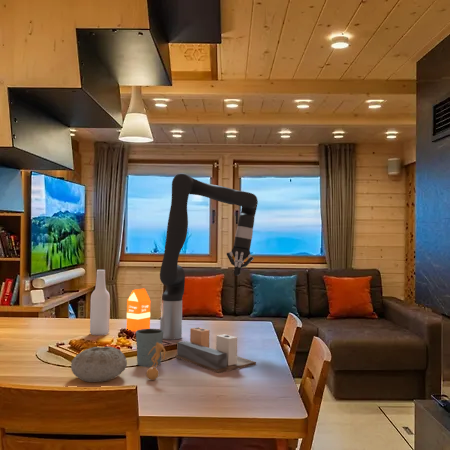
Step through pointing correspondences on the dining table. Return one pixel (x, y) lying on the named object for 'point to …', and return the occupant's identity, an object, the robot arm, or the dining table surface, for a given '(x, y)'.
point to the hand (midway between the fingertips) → (236, 275)
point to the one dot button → (227, 347)
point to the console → (208, 357)
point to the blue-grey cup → (148, 346)
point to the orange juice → (138, 310)
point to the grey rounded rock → (98, 364)
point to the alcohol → (100, 307)
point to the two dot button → (199, 336)
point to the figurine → (152, 371)
